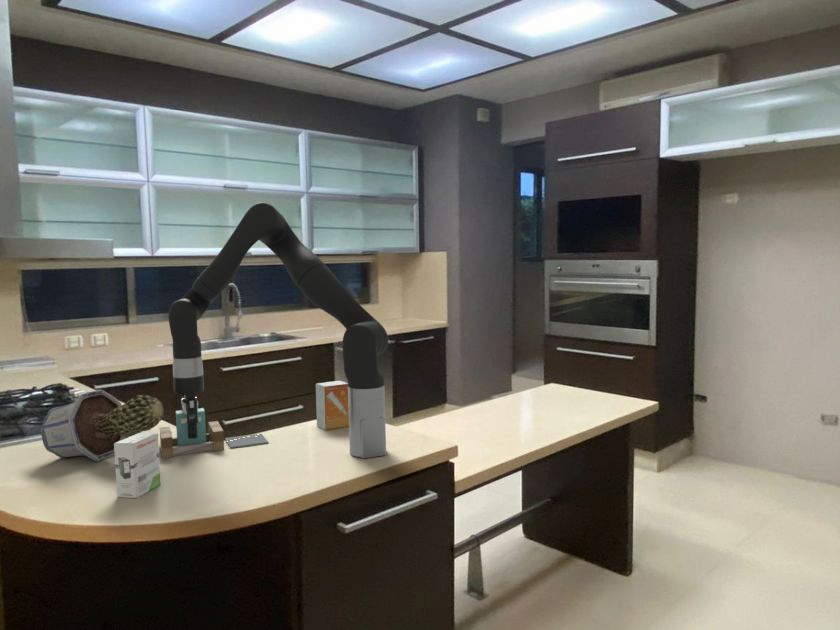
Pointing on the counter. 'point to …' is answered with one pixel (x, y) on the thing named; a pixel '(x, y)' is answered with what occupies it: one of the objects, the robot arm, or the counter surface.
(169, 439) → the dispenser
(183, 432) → the teal box
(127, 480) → the ink box
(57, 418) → the potted plant
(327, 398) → the small box
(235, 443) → the mat
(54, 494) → the counter surface
